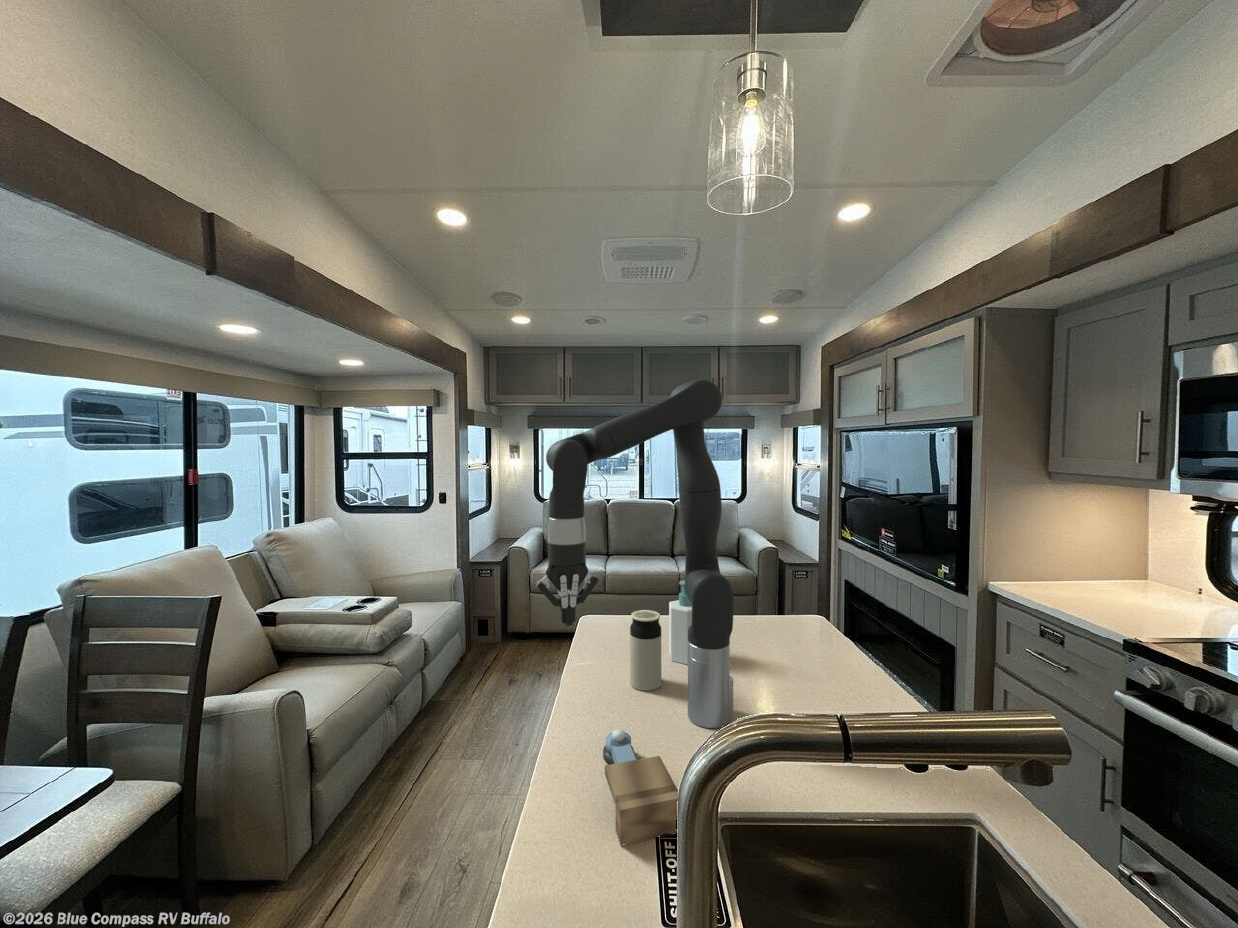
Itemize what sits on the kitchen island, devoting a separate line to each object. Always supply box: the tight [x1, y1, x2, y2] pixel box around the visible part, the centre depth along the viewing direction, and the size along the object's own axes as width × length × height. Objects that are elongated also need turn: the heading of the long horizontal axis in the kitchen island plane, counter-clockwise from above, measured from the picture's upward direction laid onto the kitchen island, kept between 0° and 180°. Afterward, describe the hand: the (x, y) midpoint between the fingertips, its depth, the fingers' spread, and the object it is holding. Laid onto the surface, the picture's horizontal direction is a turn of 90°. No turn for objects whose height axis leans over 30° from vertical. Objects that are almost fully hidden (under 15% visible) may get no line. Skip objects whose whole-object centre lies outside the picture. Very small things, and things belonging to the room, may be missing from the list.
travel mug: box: [629, 609, 662, 692], centre depth 121 cm, size 8×8×18 cm
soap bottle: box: [668, 579, 692, 666], centre depth 137 cm, size 10×9×22 cm
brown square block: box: [604, 755, 679, 846], centre depth 78 cm, size 10×10×6 cm
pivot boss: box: [602, 744, 635, 765], centre depth 93 cm, size 6×6×1 cm
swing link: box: [605, 728, 637, 764], centre depth 88 cm, size 16×5×3 cm, turn 13°
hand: (567, 624), depth 96 cm, fingers closed
